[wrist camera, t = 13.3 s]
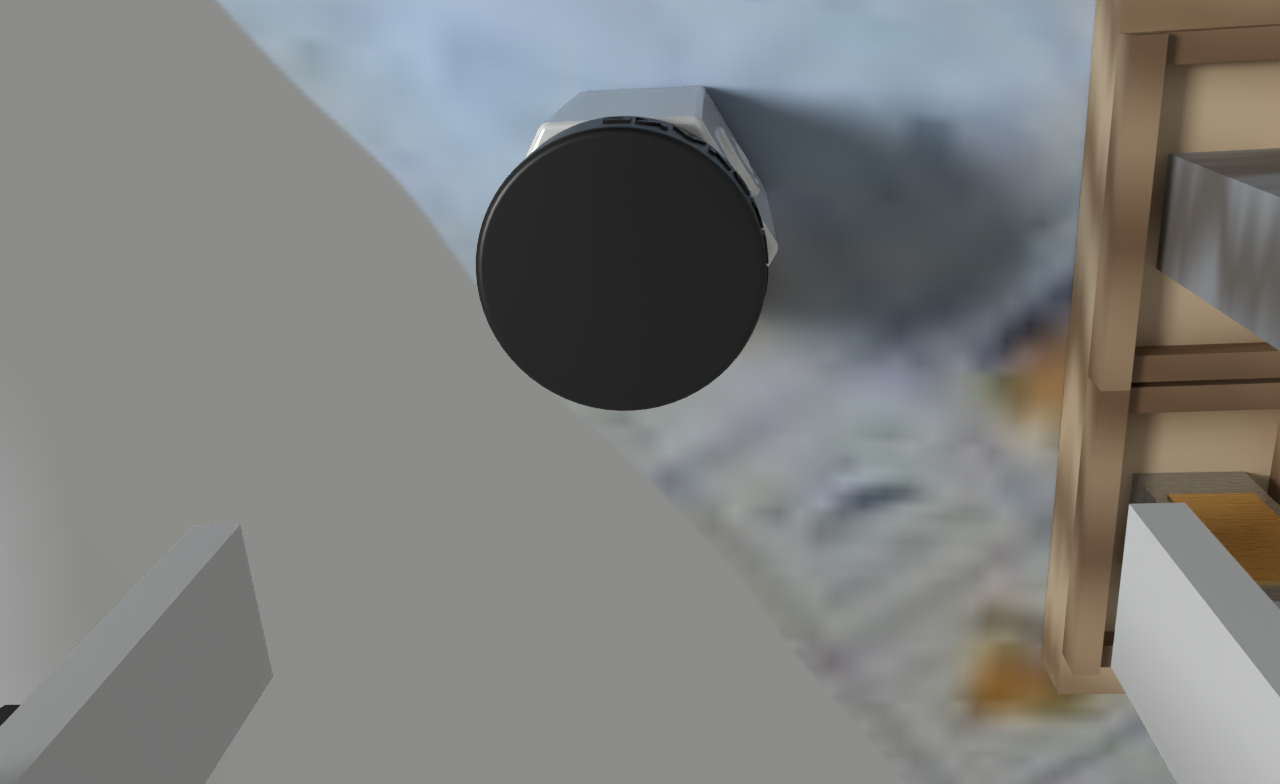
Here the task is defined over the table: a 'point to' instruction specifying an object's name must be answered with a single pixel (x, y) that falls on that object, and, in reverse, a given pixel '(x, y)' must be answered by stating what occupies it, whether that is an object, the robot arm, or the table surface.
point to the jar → (627, 249)
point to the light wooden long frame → (1165, 293)
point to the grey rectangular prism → (1225, 516)
